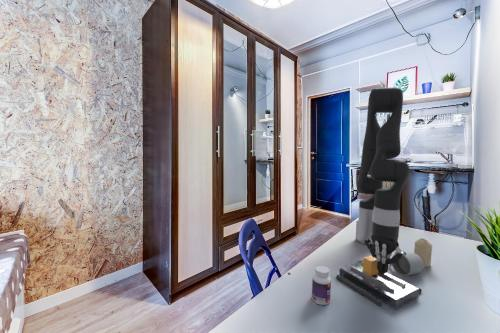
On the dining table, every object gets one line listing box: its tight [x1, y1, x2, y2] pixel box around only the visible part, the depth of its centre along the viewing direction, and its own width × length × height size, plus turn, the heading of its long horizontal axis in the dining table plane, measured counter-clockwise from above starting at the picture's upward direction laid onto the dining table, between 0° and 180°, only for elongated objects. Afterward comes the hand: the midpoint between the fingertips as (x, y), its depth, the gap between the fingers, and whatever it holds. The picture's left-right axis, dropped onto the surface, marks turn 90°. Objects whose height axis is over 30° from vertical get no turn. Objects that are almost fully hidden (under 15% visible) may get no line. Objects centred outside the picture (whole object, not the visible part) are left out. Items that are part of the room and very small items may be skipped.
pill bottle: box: [311, 265, 332, 306], centre depth 70 cm, size 5×5×10 cm
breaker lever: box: [362, 254, 378, 276], centre depth 79 cm, size 3×4×5 cm
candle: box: [413, 238, 433, 268], centre depth 93 cm, size 6×6×10 cm
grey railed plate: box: [335, 273, 423, 307], centre depth 78 cm, size 18×19×1 cm
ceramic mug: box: [389, 252, 425, 277], centre depth 87 cm, size 11×8×8 cm
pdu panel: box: [338, 259, 420, 310], centre depth 78 cm, size 20×12×4 cm, turn 28°
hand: (382, 272), depth 76 cm, fingers closed
